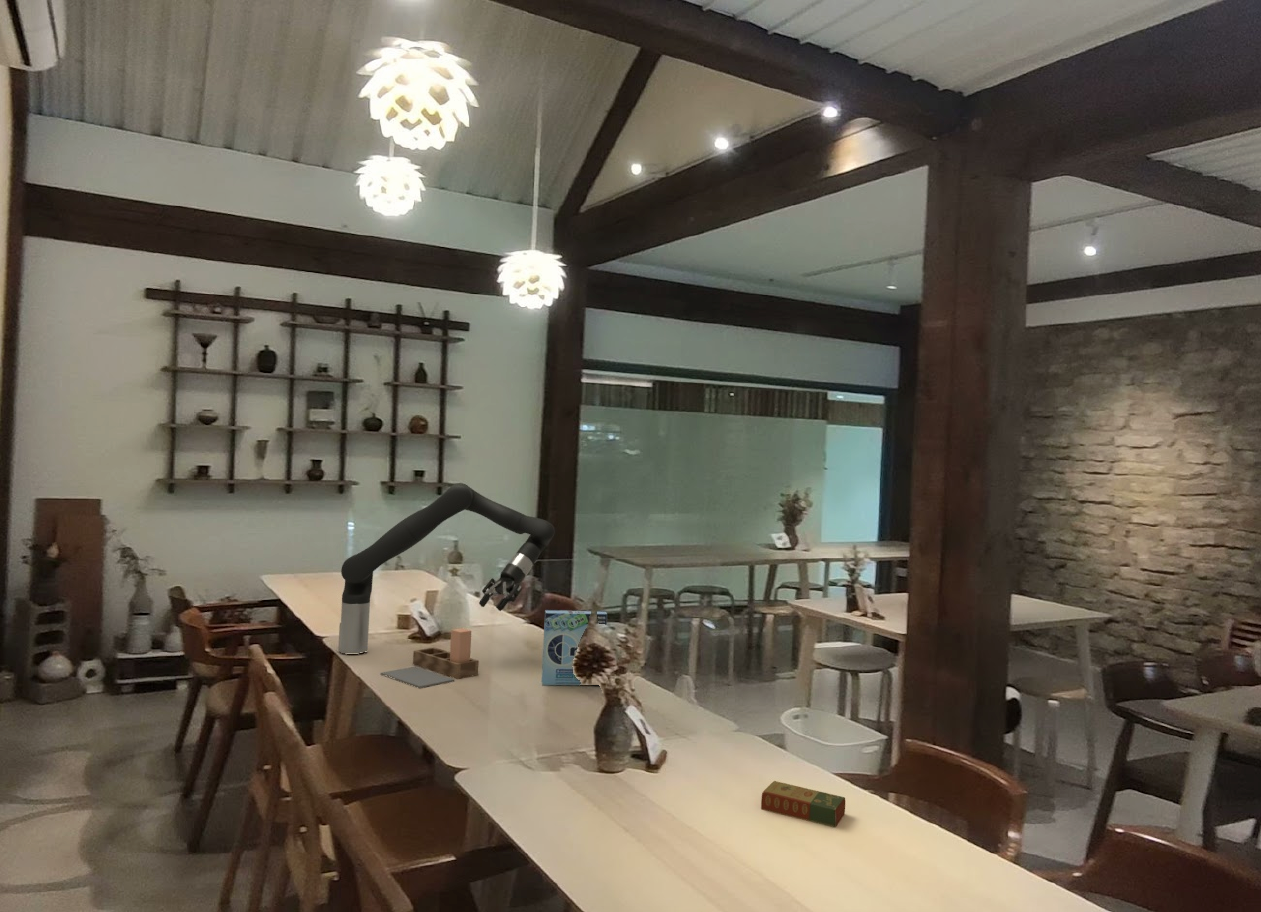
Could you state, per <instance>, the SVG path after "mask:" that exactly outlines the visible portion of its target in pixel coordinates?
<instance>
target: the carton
mask: <svg viewBox="0 0 1261 912" xmlns="http://www.w3.org/2000/svg"><path fill="white" fill-rule="evenodd" d="M760 802H761V803H760V809H761V810H763V811H766V812H769V813H770V812H771V813H774V814H778V815H782V816H787V817H791V818H795V819H799V820H803V821H807V822H810V823H815V824H820V825H823V826H827V827H831V828H837V826H838V824H839V823H841V822H840V821H842V819H843V817H844V816H845V815H846V814H845V813H846V797H844V796H841V795H836V794H831V793H828V792H824V791H818V790H814V789H809V788H807V787H802V786H799V785H793V784H789V783H785V782H781V781H776V780H774V781H772V782H770V784H769V785H768V786H767V787H766V788H765V789H764V790H763V791H762V792H761V800H760Z"/></svg>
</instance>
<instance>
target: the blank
mask: <svg viewBox="0 0 1261 912" xmlns="http://www.w3.org/2000/svg"><path fill="white" fill-rule="evenodd" d="M471 647H472V630H470V629H467V628H463V627H462V628H456V629H451V631H450V647H449V652H450V661H453V662H456V663H462V662H468V661H470V658H471Z"/></svg>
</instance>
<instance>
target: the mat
mask: <svg viewBox="0 0 1261 912" xmlns="http://www.w3.org/2000/svg"><path fill="white" fill-rule="evenodd" d="M381 674H382V675H381ZM380 675H381V676H383V675H387V676H390V677H392V678H395V679H397V680H399V681H398V682H400V681H402V682H401V683H403V682H404V683H403V684H406V683H407V684H406V685H409V684H410V685H409V686H411V685H413V686H412V687H414V686H415V688H417V687H418V688H417V689H423V687H424V688H428V687H427V686H429V687H433V686H432V685H434V686H438V685H437V684H439V685H442V684H441V683H444V684H448V683H453V682H455V679H456V678H453V677H450V676H446V675H443V674H440V673H437V672H434V671H431V670H428V669H425V668H422V667H419V666H416V665H414V666H410V667H404V668H400V669H393V670H389V671H387V670H386V671H383V672H380ZM392 678H391V679H392ZM397 680H396V681H397ZM452 681H453V682H452ZM447 682H448V683H447Z"/></svg>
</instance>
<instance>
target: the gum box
mask: <svg viewBox="0 0 1261 912" xmlns="http://www.w3.org/2000/svg"><path fill="white" fill-rule="evenodd" d="M591 611H592V610H569V609H568V610H565V609H560V610H557V609H545V610H544V623H543V649H542V667H541V668H542V670H541V685H542V686H543V685H544V686H546V685H579V686H578V687H580V684H581V682H580V680H578V679H577V678H576V677H575V675H574V674H573V667H572V665H573V659H574V657H575V655H576V652H577V649H578V644H579V642H580V639H581V637H582V635H583V633H584V631H585V629H586V628H587V625H588V622H589V616H590V614H591ZM596 611H597V619H598V623H599V624H605V625H607V623H608V613H607V611H606V610H596ZM607 626H608V625H607Z"/></svg>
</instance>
